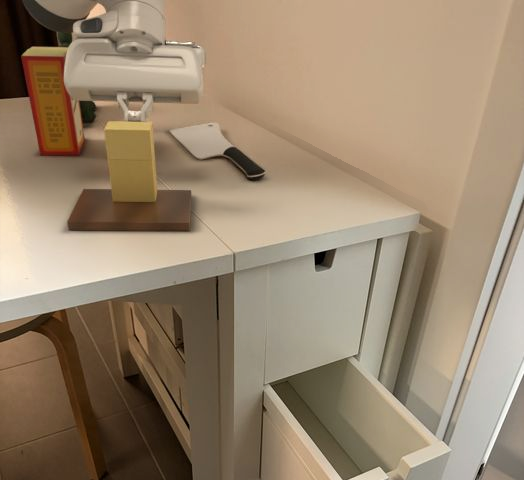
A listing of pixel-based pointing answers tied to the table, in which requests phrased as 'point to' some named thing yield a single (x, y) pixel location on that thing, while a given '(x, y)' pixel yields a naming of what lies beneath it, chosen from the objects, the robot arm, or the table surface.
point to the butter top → (129, 140)
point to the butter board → (131, 212)
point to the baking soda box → (52, 102)
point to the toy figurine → (85, 106)
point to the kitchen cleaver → (215, 147)
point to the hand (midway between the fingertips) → (135, 125)
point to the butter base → (133, 180)
